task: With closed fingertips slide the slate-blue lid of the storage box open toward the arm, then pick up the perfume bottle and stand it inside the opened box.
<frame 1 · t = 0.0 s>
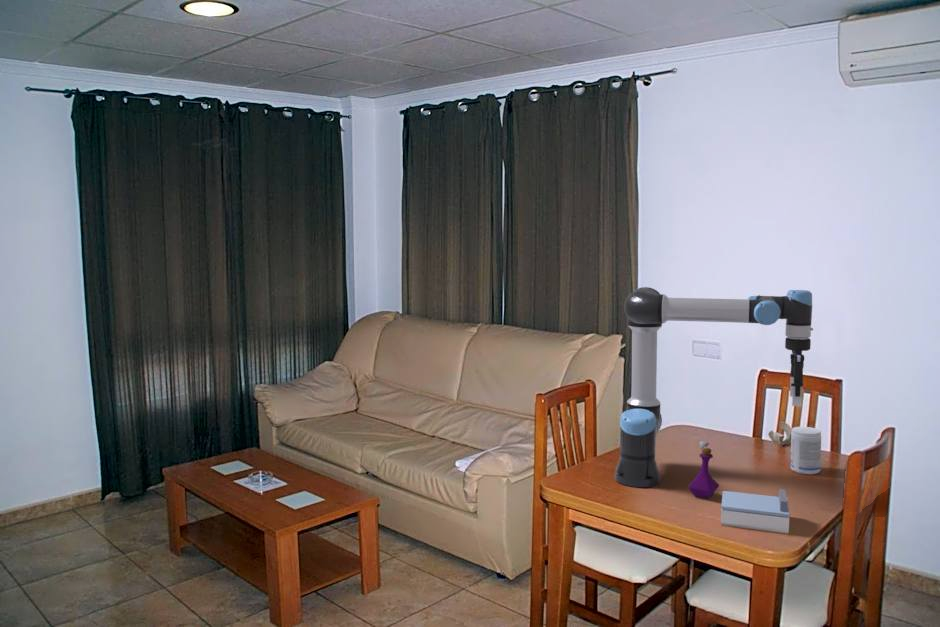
hand: (795, 401, 237), 28 cm above the table, fingers open, 13 cm apart
lid: (754, 498, 210), point 7 cm above the table, slide at 0.0 cm
beige irregular lump: (779, 445, 283), on the table
storage box: (754, 520, 211), on the table
perfume bottle: (703, 496, 231), on the table
supplement tub: (804, 471, 253), on the table
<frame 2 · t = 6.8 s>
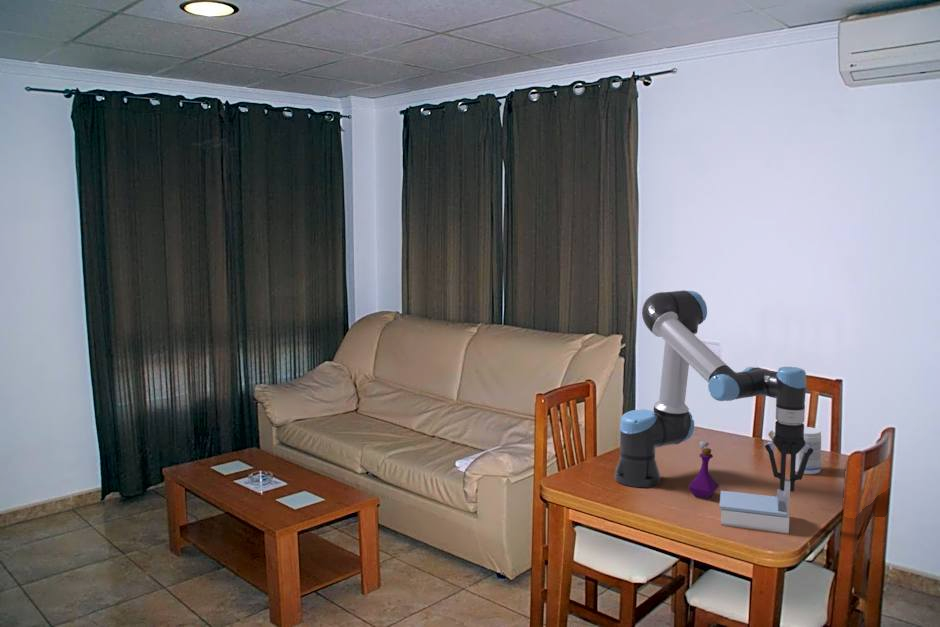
hand: (786, 501, 207), 7 cm above the table, fingers closed
lid: (752, 498, 210), point 7 cm above the table, slide at 0.6 cm, touching gripper
everything else where it was.
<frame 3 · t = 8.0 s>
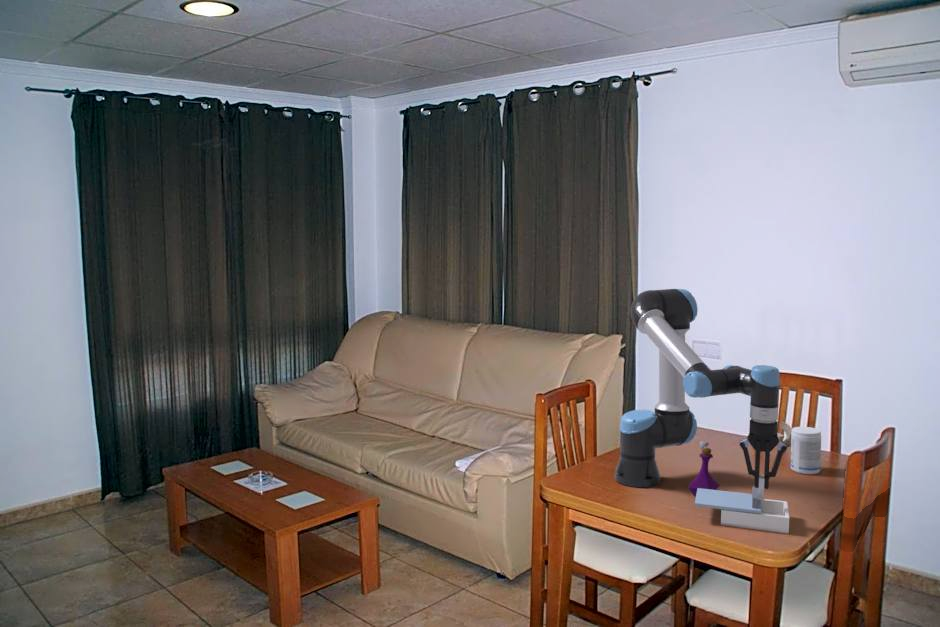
hand: (760, 498, 210), 7 cm above the table, fingers closed
lid: (727, 495, 213), point 7 cm above the table, slide at 7.4 cm, touching gripper
everything else where it was.
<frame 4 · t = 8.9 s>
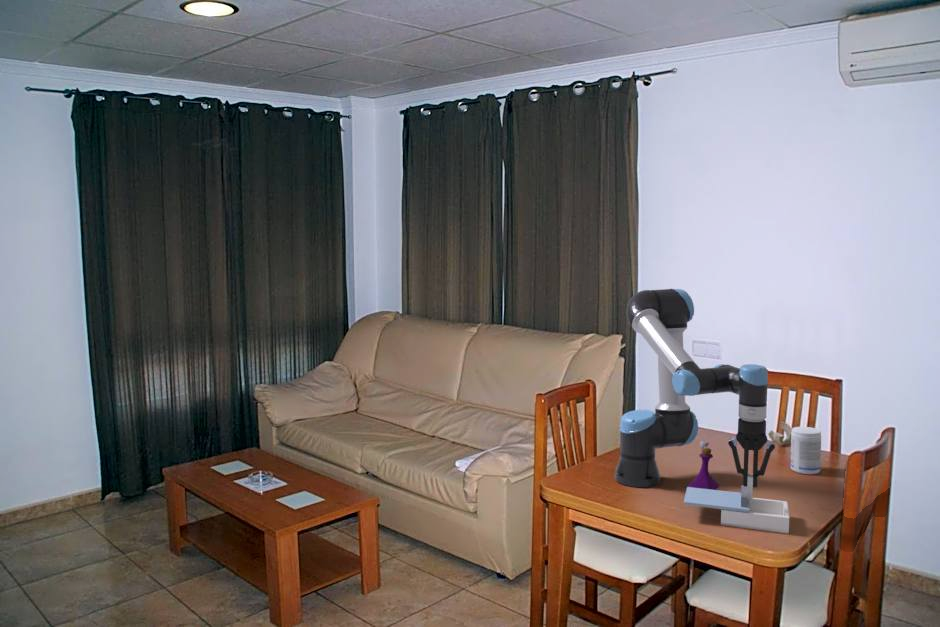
hand: (749, 496, 211), 7 cm above the table, fingers closed
lid: (717, 494, 214), point 7 cm above the table, slide at 10.5 cm, touching gripper
everything else where it was.
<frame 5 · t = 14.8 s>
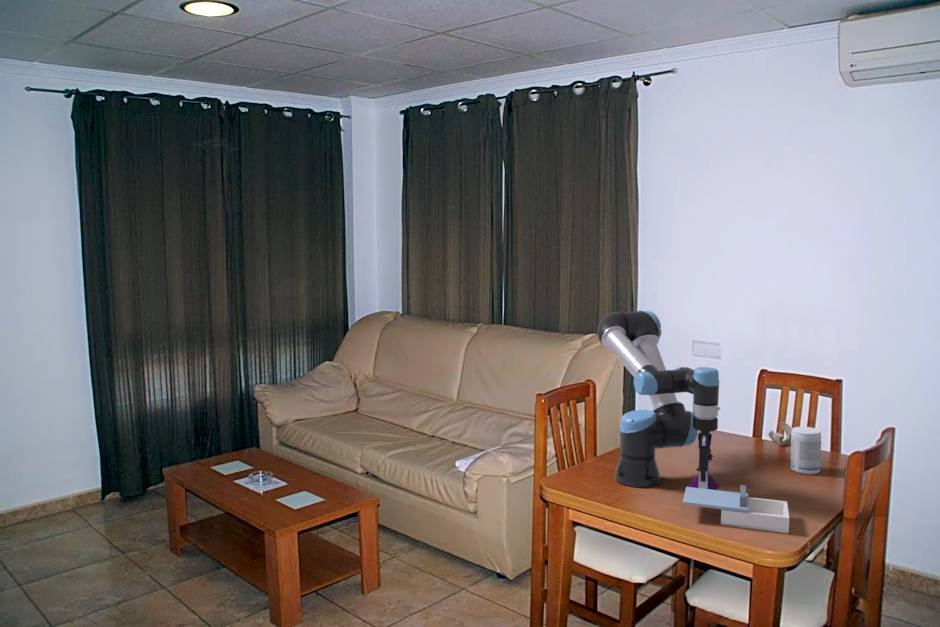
hand: (703, 485, 230), 3 cm above the table, fingers closed on perfume bottle, 9 cm apart
lid: (715, 494, 214), point 7 cm above the table, slide at 10.8 cm
perfume bottle: (703, 496, 231), on the table, touching gripper
everything else where it was.
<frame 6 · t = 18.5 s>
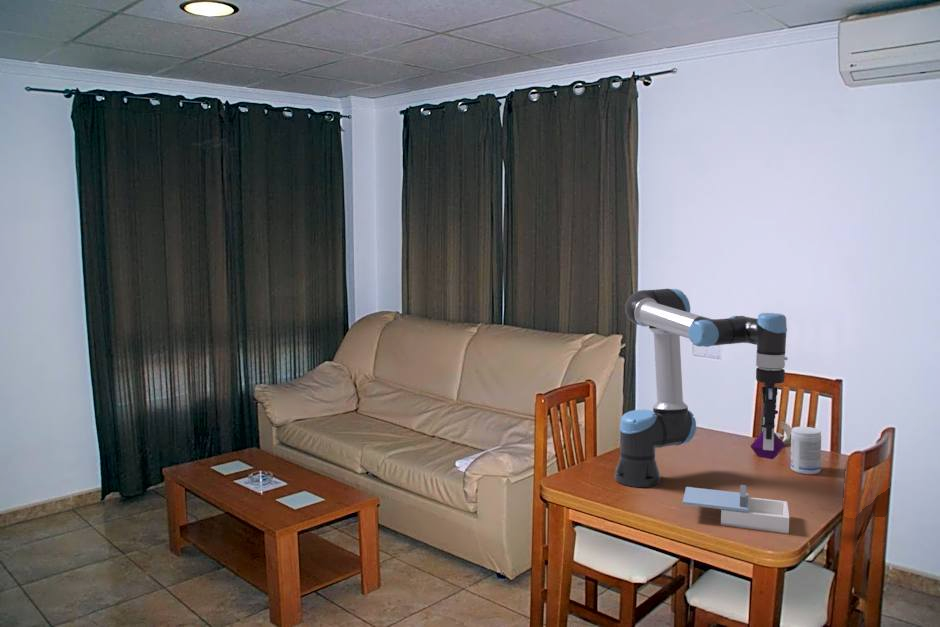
hand: (767, 444, 207), 23 cm above the table, fingers closed on perfume bottle, 9 cm apart
perfume bottle: (767, 457, 207), point 19 cm above the table, touching gripper
everything else where it was.
when the fingers open (6 cm above the table, at t = 22.0 s): perfume bottle drops 2 cm, resting on storage box.
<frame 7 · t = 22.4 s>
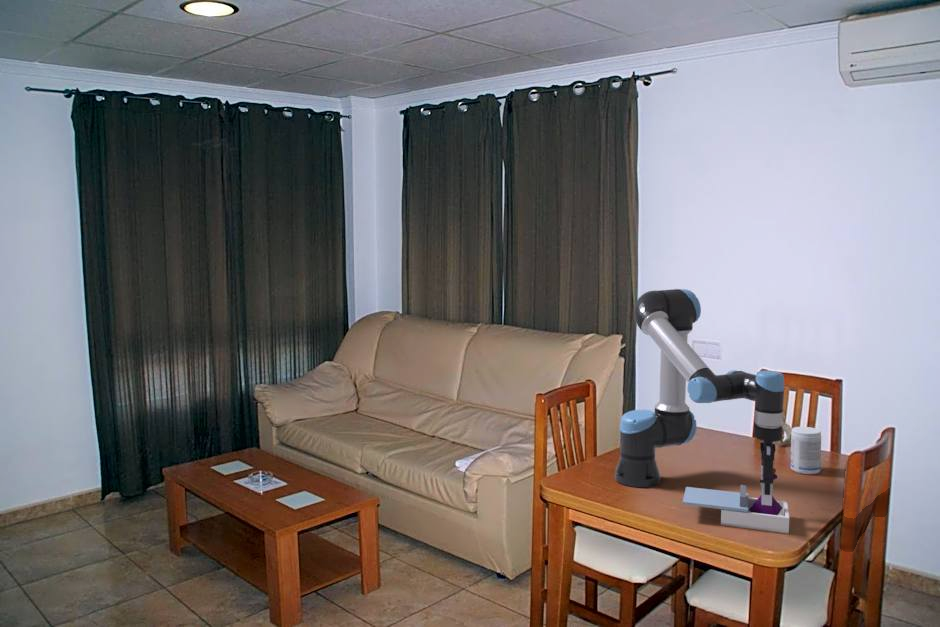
hand: (766, 496, 209), 8 cm above the table, fingers open, 13 cm apart
perfume bottle: (765, 519, 210), point 1 cm above the table, touching storage box
everything else where it was.
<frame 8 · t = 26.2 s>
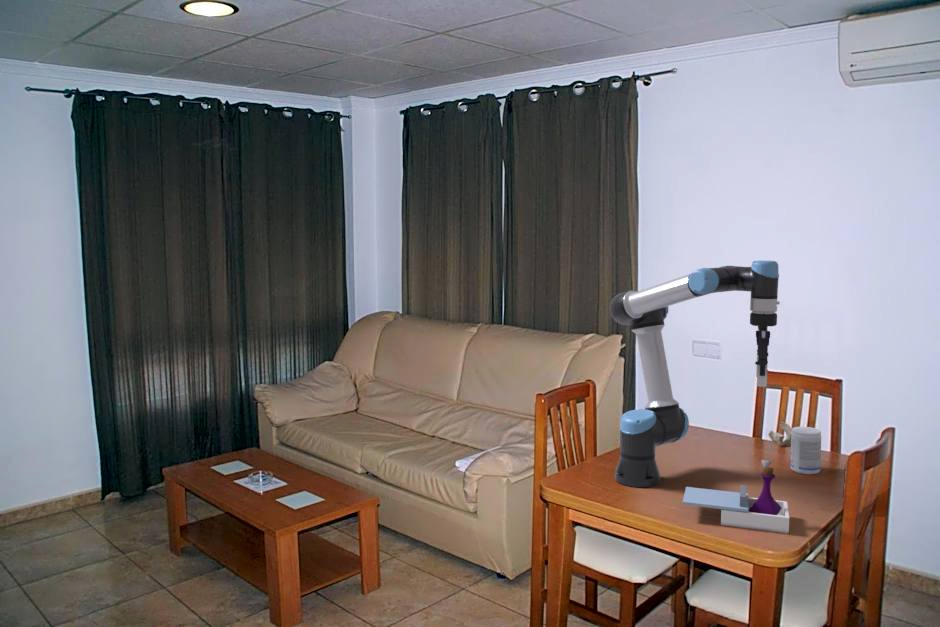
hand: (761, 381, 218), 39 cm above the table, fingers open, 13 cm apart
at the end: lid slide at 10.8 cm; perfume bottle inside the target area on the storage box (3.0 cm from its centre), point 0.4 cm above the storage box's base; perfume bottle tilted 0° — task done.
